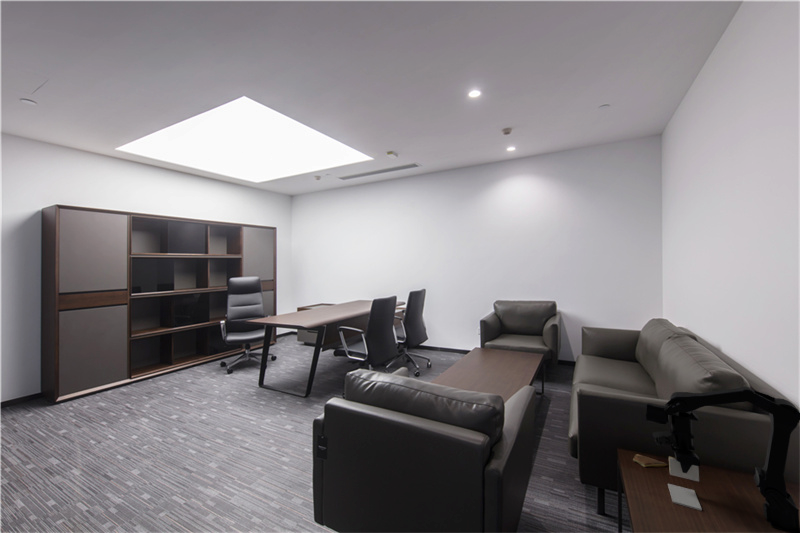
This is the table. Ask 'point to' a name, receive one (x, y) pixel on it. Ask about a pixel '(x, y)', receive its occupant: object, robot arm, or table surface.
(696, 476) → the card
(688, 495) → the mat
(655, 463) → the shard
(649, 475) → the table surface
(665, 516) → the table surface
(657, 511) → the table surface
